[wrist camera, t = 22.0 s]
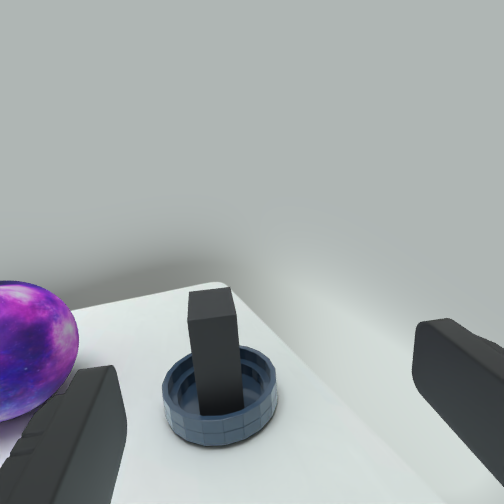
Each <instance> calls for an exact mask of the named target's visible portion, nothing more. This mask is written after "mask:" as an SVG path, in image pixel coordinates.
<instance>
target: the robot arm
mask: <svg viewBox="0 0 504 504" xmlns="http://www.w3.org/2000/svg"><path fill="white" fill-rule="evenodd" d="M412 376H413V380H414V383H415V386H416V388H417V389H418V391H419V393H420V394H421V395H422V396H423V398H424V399H425V400H426V401H427V402H428V403H429V404H430V405H431V406H432V407H433V409H434V410H435V411H436V412H437V413H438V414H439V415H440V416H441V418H442V419H443V420H444V421H445V422H446V423H447V424H448V425H449V427H451V429H452V430H453V431H454V432H455V433H456V434H457V435H458V437H459V438H460V439H461V440H462V441H463V442H464V443H465V444H466V445H467V446H468V448H469V449H470V450H471V451H472V452H473V453H474V454H475V456H477V458H478V459H479V460H480V461H481V462H482V463H483V464H484V465H485V467H486V468H487V469H488V470H489V471H490V472H491V473H492V474H493V476H494V477H495V478H496V479H497V480H498V481H499V482H500V483H501V484H502V486H503V487H504V348H502V347H500V346H499V345H498V344H496V343H494V342H491V341H489V340H487V339H484V338H482V337H479V336H477V335H475V334H473V333H471V332H470V331H468V330H467V329H466V328H464V327H462V326H461V325H459V324H458V323H457V322H455V321H454V320H452V319H449V318H444V319H438V320H431V321H423V322H420V323H419V324H418V325H417V327H416V332H415V342H414V352H413V364H412ZM126 436H127V419H126V413H125V408H124V404H123V399H122V395H121V390H120V386H119V382H118V377H117V373H116V370H115V368H114V366H113V365H108V366H101V367H94V368H87V369H80V370H78V371H77V373H76V374H75V376H74V378H73V380H72V382H71V383H70V385H69V387H68V389H67V391H66V393H65V394H60V395H54V396H53V397H52V398H51V399H50V400H49V401H48V402H47V403H46V404H45V405H43V406H42V407H41V408H40V409H39V410H38V411H37V412H36V413H35V414H34V415H33V417H32V418H31V420H30V422H29V423H28V425H27V427H26V428H25V430H24V431H23V433H22V437H21V439H18V441H17V443H16V444H15V446H14V447H13V449H12V451H11V452H10V457H8V458H7V459H6V460H5V462H4V463H3V465H2V467H1V468H0V504H110V503H111V499H112V495H113V491H114V487H115V483H116V479H117V475H118V471H119V467H120V463H121V459H122V455H123V451H124V447H125V443H126Z"/></svg>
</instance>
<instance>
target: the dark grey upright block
mask: <svg viewBox="0 0 504 504" xmlns="http://www.w3.org/2000/svg"><path fill="white" fill-rule="evenodd" d="M187 322H188V330H189V337H190V345H191V352H192V359H193V367H194V374H195V381H196V389H197V396H198V403H199V411H200V415H202V416H217V415H226V414H229V413H233V412H237V411H240V410H242V409H244V396H243V385H242V373H241V361H240V350H239V338H238V326H237V314H236V310H235V306H234V302H233V297H232V293H231V289H230V287H226V288H218V289H210V290H201V291H193V292H189V301H188V318H187Z"/></svg>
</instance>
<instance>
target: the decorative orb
mask: <svg viewBox="0 0 504 504" xmlns="http://www.w3.org/2000/svg"><path fill="white" fill-rule="evenodd" d="M78 347H79V334H78V328H77V324H76V321H75V319H74V316H73V315H72V313H71V311H70V310H69V308H68V307H67V306H66V304H65V303H64V302H63V301H62V300H61V299H60V298H58V297H57V296H56V295H54V294H53V293H51V292H50V291H48V290H46V289H44V288H42V287H40V286H37V285H34V284H30V283H26V282H20V281H0V422H2V421H6V420H9V419H12V418H15V417H18V416H20V415H23V414H25V413H27V412H29V411H31V410H32V409H34V408H36V407H37V406H39V405H40V404H42V403H43V402H44V401H46V400H47V399H48V398H49V397H51V396H52V395H53V394H54V393H55V392H56V391H57V390H58V389H59V388H60V386H61V385H62V384H63V383H64V381H65V380H66V378H67V377H68V375H69V373H70V372H71V370H72V368H73V365H74V363H75V360H76V357H77V353H78Z"/></svg>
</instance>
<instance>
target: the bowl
mask: <svg viewBox="0 0 504 504" xmlns="http://www.w3.org/2000/svg"><path fill="white" fill-rule="evenodd" d="M239 350H240V361H241V373H242V385H243V396H244V409H242V410H240V411H237V412H233V413H229V414H226V415H217V416H202V415H200V411H199V403H198V396H197V389H196V381H195V374H194V367H193V359H192V353H190V354H189V355H187V356H185V357H184V358H182V359H181V360H179V361H178V362H176V363H175V364H174V365H173V367H172V368H171V369H170V370H169V371H168V372H167V374H166V377H165V379H164V381H163V384H162V393H163V401H164V407H165V413H166V418H167V421H168V423H169V424H170V426H171V428H172V429H173V431H174V432H175V433H176V434H178V435H179V436H180V437H182V438H183V439H185V440H186V441H189V442H192V443H196V444H200V445H204V446H216V445H227V444H231V443H234V442H237V441H241V440H244V439H246V438H248V437H249V436H251V435H253V434H254V433H256V432H257V431H259V430H261V429H262V428H263V427H264V425H265V424H266V423H267V422H268V421H269V420H270V418H271V417H272V416H273V413H274V410H275V408H276V405H277V389H276V372H275V368H274V366H273V364H272V363H271V361H270V359H269V358H267V357H266V356H265V355H264V354H262V353H261V352H259V351H257V350H255V349H252V348H250V347H246V346H239Z"/></svg>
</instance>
